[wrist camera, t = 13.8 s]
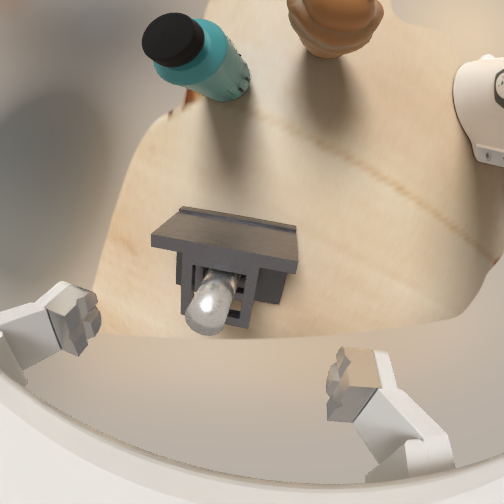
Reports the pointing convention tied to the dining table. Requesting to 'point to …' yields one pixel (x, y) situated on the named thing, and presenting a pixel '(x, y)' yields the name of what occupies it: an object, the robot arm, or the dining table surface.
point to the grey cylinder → (212, 302)
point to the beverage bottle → (196, 56)
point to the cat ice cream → (334, 24)
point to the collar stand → (230, 255)
